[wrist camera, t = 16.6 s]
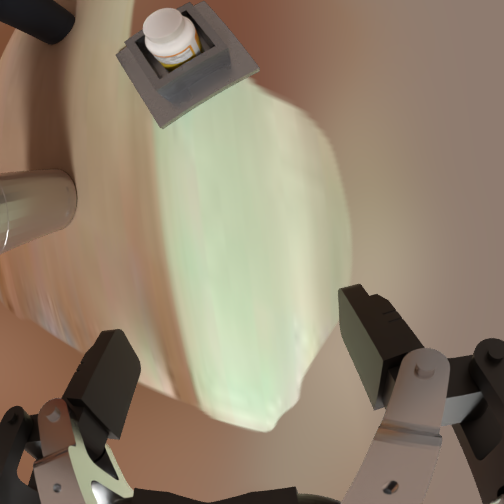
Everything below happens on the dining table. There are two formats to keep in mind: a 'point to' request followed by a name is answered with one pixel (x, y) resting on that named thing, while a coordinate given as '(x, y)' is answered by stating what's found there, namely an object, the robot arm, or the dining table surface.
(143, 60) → the square socket
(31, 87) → the dining table surface
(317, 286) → the dining table surface
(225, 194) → the dining table surface
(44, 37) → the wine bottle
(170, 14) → the supplement bottle
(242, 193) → the dining table surface
